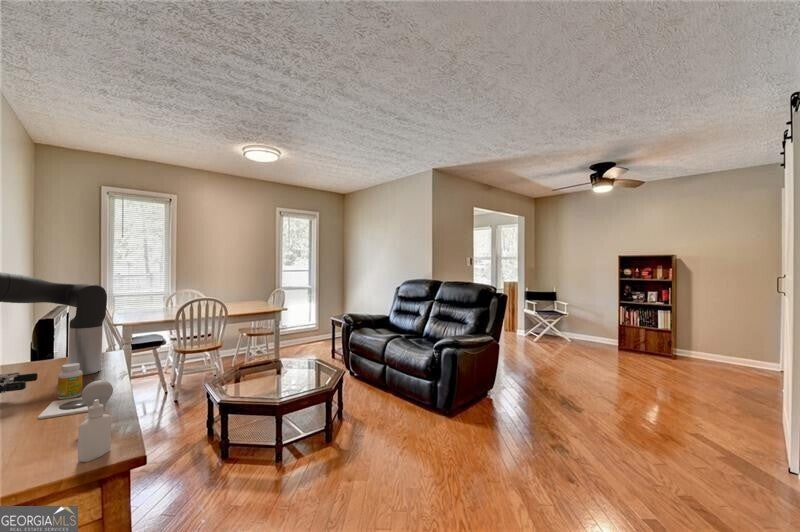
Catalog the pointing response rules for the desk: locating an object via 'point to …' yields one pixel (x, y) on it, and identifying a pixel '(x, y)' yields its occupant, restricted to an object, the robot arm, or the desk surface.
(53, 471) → the desk surface
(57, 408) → the plate
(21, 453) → the desk surface
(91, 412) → the eye dropper bottle
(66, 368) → the supplement bottle
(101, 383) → the lightbulb
